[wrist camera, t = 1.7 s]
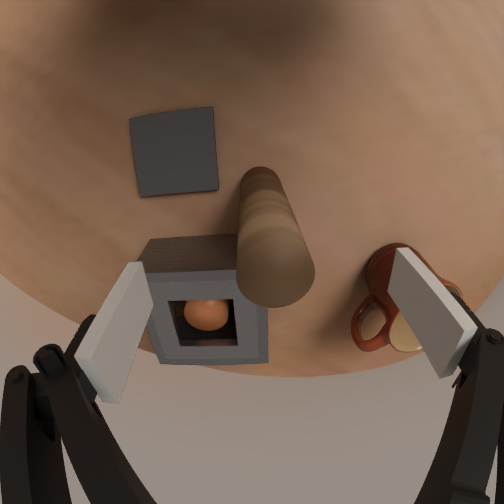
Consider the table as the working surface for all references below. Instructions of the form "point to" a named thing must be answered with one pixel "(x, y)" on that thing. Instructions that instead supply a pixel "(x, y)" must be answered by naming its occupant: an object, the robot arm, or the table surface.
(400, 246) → the mug
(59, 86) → the table surface
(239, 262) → the brown cylinder
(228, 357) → the grey hollow block
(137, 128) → the coaster
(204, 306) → the orange round ball
